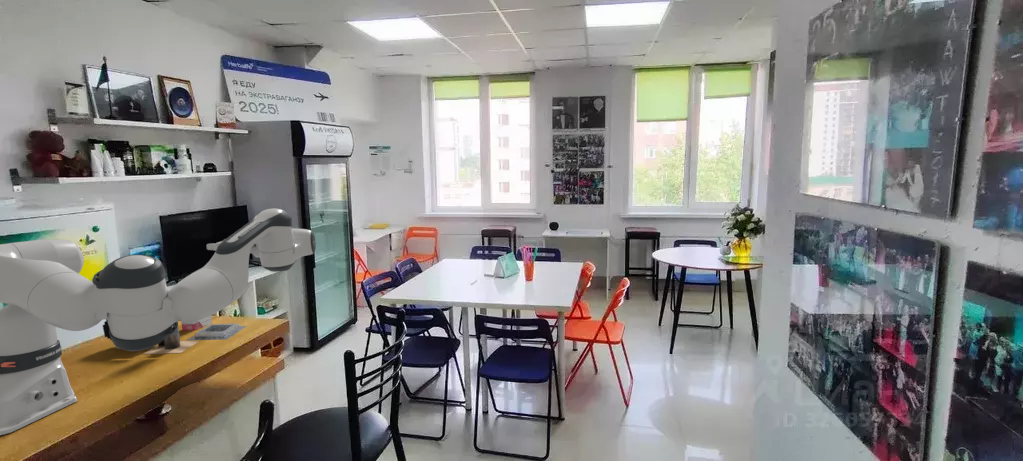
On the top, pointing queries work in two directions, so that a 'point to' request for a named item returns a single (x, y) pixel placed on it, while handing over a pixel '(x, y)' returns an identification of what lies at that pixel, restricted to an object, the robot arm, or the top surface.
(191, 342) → the cork pad
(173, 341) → the copper capped grey cylinder
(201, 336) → the grey square base
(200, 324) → the ink box
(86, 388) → the top surface
